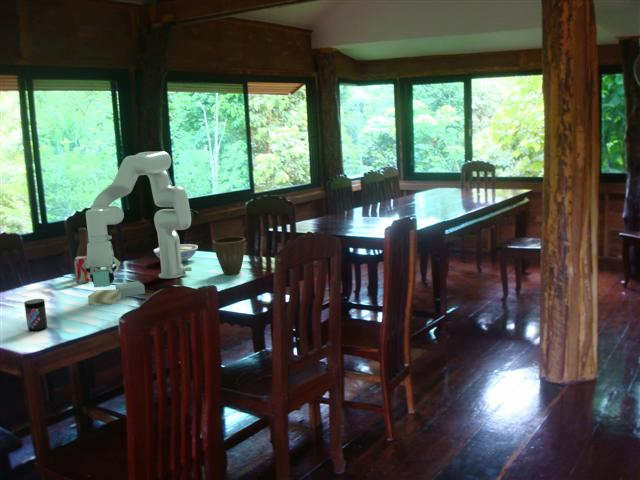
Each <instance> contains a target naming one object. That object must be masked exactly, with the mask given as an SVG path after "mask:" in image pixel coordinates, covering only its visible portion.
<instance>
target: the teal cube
mask: <svg viewBox="0 0 640 480" xmlns="http://www.w3.org/2000/svg"><path fill="white" fill-rule="evenodd" d="M109 273H110V272H109V270H108V268H102V269H100V268H99V269H96V270H95V271H94V272H93V281H94V284H93V287H94V288H102V287H104V288H105V287H110V286H112V284H113V283H114V281H113V282H112V283H110V279H109Z"/></svg>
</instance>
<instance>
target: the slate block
mask: <svg viewBox="0 0 640 480" xmlns="http://www.w3.org/2000/svg"><path fill="white" fill-rule="evenodd" d="M115 289H120V291H121V298H127V297H132V296H133V297H134V296H139V295H143V294H146V289H145V284H143V283H142V282H141V281H139V280H136V281H130V282H124V283H117V284H115Z"/></svg>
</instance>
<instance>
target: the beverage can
mask: <svg viewBox="0 0 640 480" xmlns="http://www.w3.org/2000/svg"><path fill="white" fill-rule="evenodd" d="M86 260H87V258H86V256H81V257H77V256H76V257H75V258H74V260H73V265H74V273H75V281H76V283H78V284H87V283H89V282H91V278H90V273H89V272H87V271H86V270H85V269H84V268H82V265H83V264H84V262H85V261H86ZM87 267H88V264H87Z"/></svg>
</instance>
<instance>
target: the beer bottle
mask: <svg viewBox="0 0 640 480" xmlns="http://www.w3.org/2000/svg"><path fill="white" fill-rule="evenodd" d="M77 231H78V237H79V246H78V248H77V250H76V257H81V256H86V258H87V244H88V243H89V239H88V232H87V228H86V227H80V228H78V230H77ZM89 268H90V267H89ZM90 269H91V268H90ZM95 270H97V268H95ZM90 279H91V275H90Z"/></svg>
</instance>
